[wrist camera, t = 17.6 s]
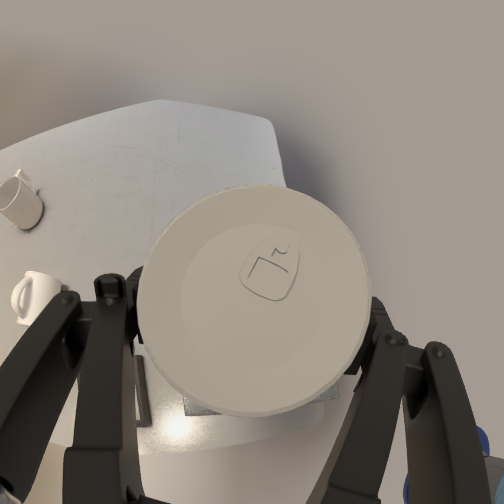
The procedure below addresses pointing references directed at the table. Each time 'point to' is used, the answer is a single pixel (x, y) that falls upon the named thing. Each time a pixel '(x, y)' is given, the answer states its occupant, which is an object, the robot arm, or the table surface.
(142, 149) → the table surface
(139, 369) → the grey square frame
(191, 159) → the table surface
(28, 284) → the mug
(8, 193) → the mug
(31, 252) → the table surface
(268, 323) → the canned food
